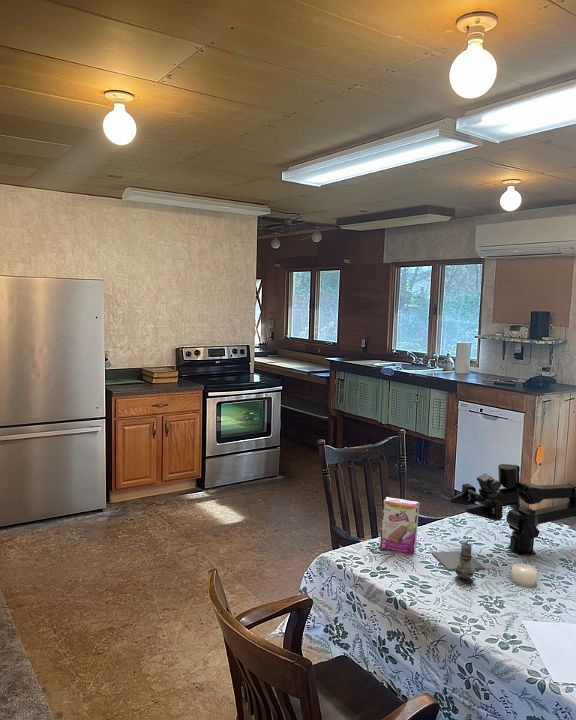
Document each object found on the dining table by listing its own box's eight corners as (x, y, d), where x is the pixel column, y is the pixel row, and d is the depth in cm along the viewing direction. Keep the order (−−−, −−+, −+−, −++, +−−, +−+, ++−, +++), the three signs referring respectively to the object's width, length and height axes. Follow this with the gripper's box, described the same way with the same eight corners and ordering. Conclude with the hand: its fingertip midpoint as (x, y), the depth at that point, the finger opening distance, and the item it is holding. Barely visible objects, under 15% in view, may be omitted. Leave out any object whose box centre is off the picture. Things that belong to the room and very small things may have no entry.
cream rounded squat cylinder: (527, 575, 177) (528, 562, 177) (541, 586, 170) (542, 573, 170) (506, 576, 176) (507, 563, 176) (519, 587, 169) (520, 574, 169)
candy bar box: (379, 549, 191) (382, 500, 189) (382, 543, 195) (385, 496, 194) (414, 555, 187) (417, 506, 185) (416, 549, 192) (419, 501, 190)
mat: (466, 552, 191) (466, 551, 191) (484, 569, 180) (484, 567, 179) (431, 553, 189) (431, 552, 189) (448, 570, 177) (448, 569, 177)
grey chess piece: (463, 586, 168) (466, 546, 167) (449, 577, 173) (452, 538, 172) (478, 582, 171) (481, 543, 169) (463, 574, 176) (467, 535, 175)
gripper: (483, 465, 198) (442, 472, 194) (518, 482, 180) (473, 490, 176) (484, 497, 200) (443, 504, 196) (519, 517, 182) (474, 526, 178)
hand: (458, 505), depth 186 cm, fingers open, 9 cm apart
